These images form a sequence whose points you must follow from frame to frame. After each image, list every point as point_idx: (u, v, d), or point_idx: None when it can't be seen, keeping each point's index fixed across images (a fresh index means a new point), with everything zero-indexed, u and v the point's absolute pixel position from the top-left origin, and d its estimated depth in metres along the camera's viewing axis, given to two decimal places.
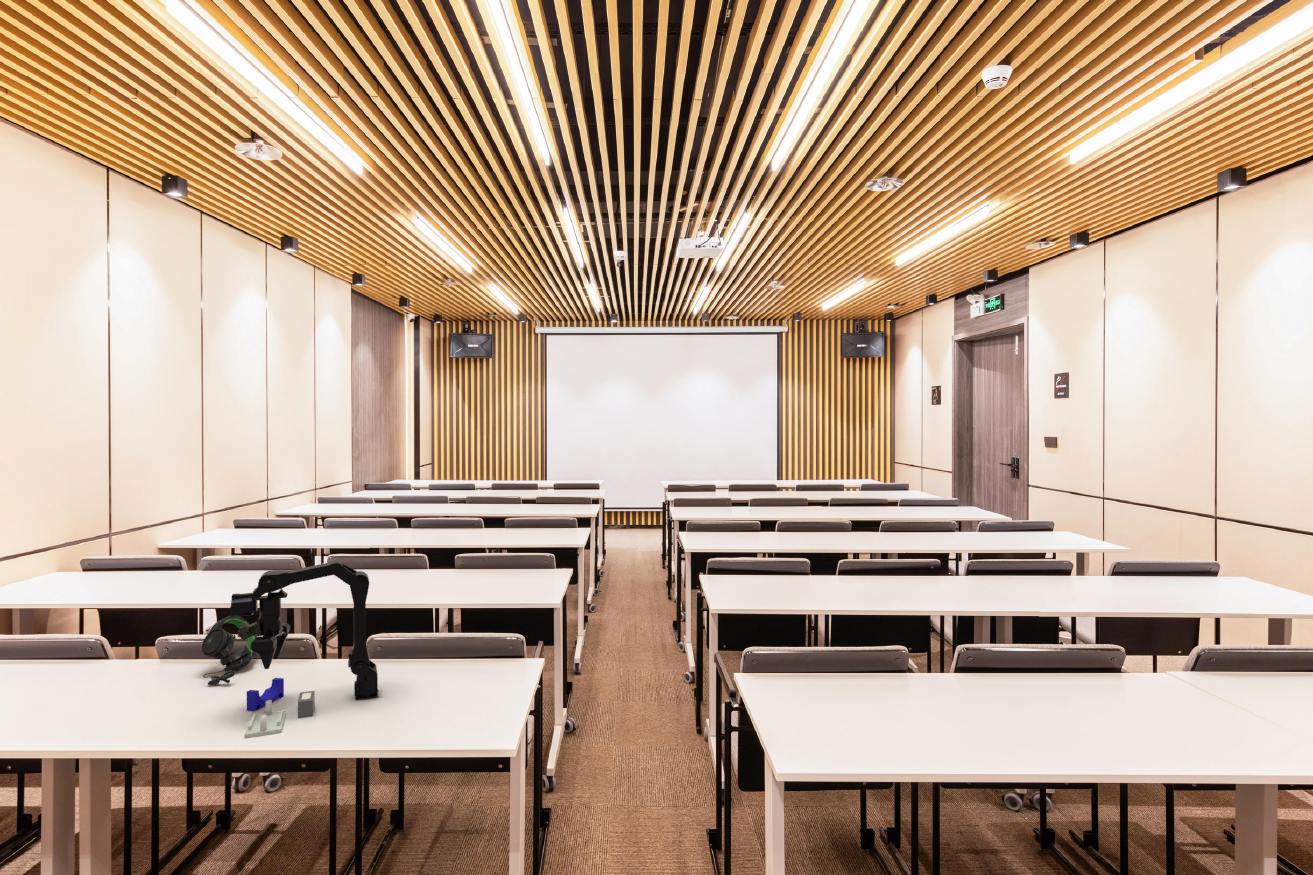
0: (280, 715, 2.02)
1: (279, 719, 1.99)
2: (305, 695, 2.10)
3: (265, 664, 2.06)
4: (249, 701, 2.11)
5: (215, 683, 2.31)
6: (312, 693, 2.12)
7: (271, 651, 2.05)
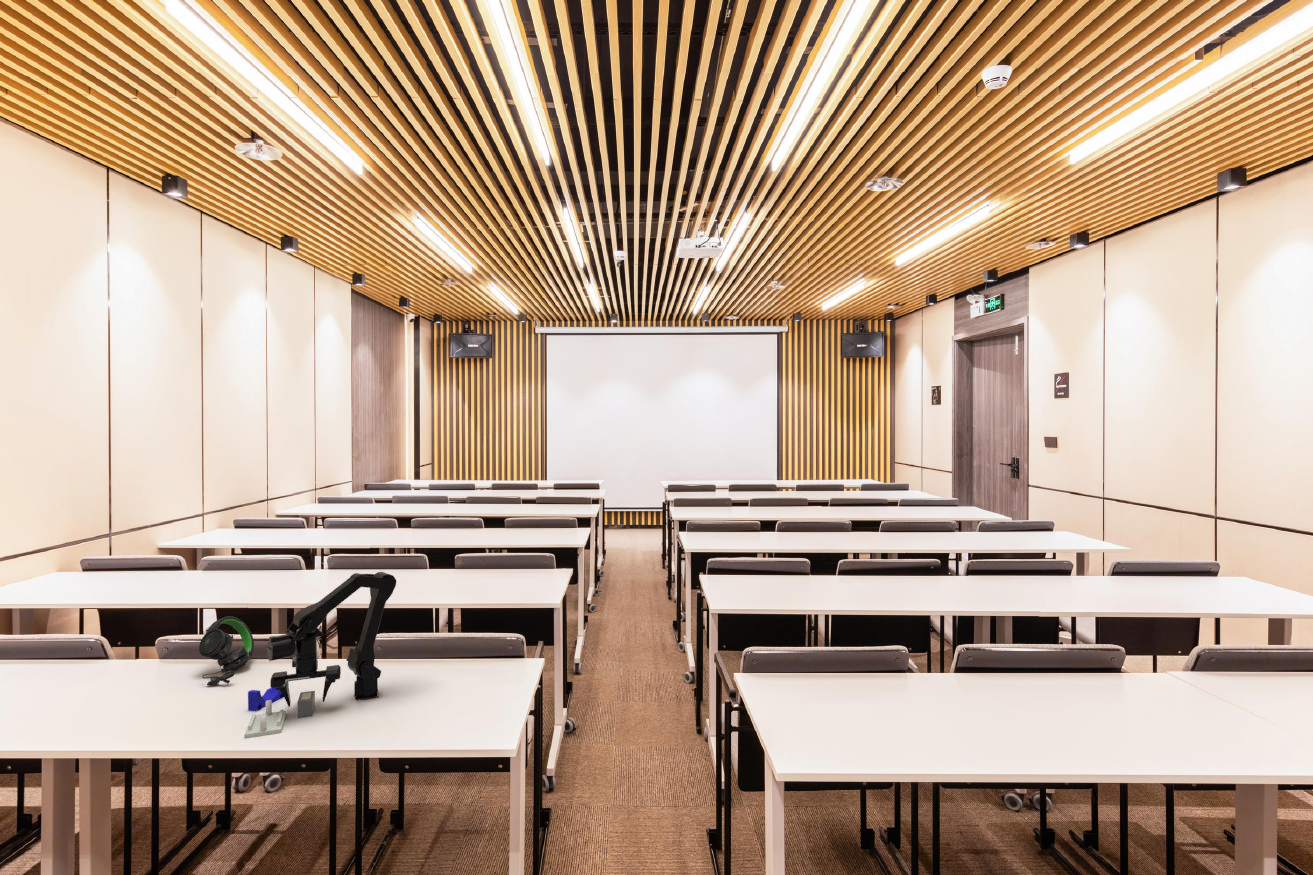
0: (280, 715, 2.02)
1: (279, 719, 1.99)
2: (305, 695, 2.10)
3: None
4: (250, 701, 2.11)
5: (214, 683, 2.31)
6: (312, 693, 2.12)
7: None
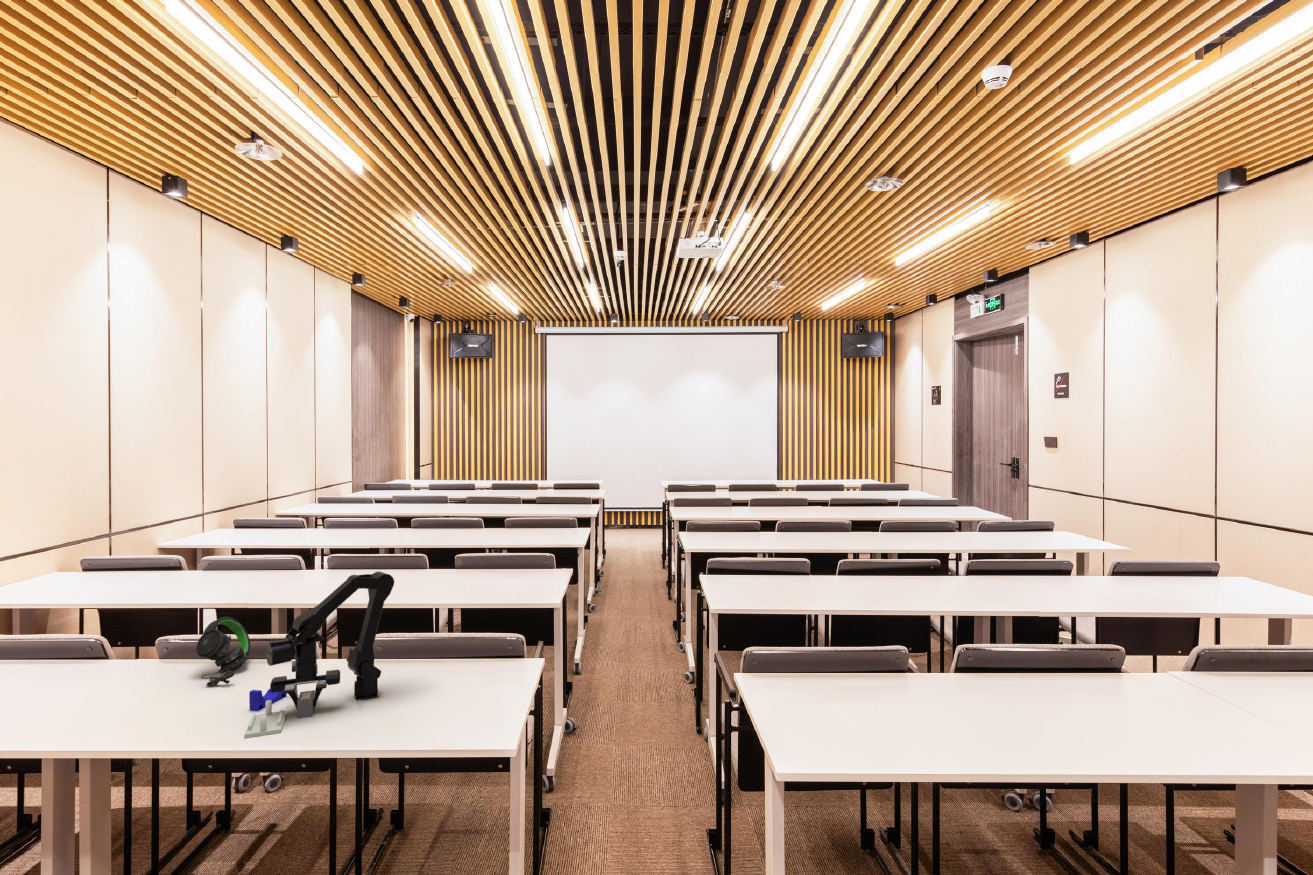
0: (280, 715, 2.02)
1: (279, 719, 1.99)
2: (305, 695, 2.10)
3: None
4: (252, 701, 2.11)
5: (214, 684, 2.30)
6: (312, 693, 2.12)
7: None
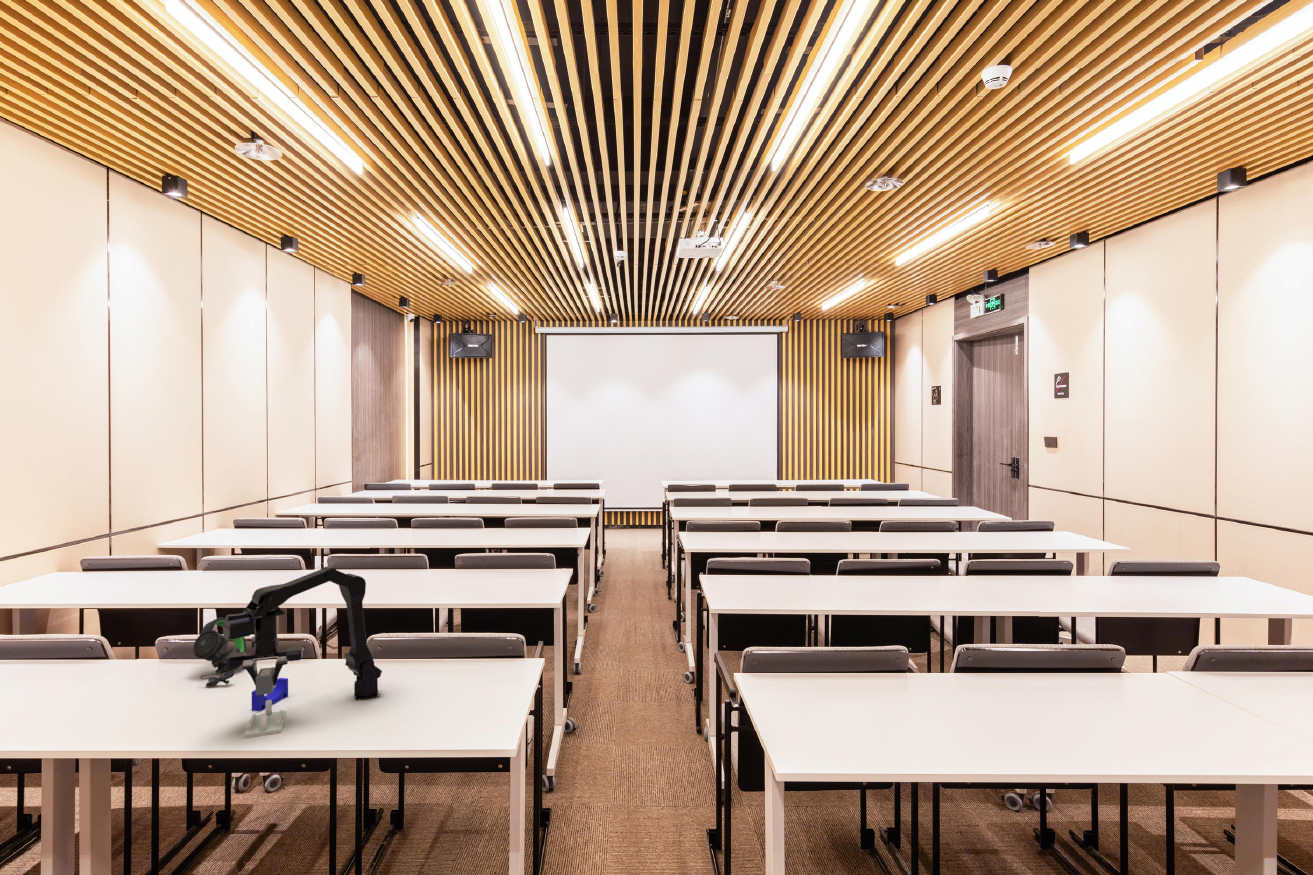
0: (280, 715, 2.02)
1: (279, 719, 1.99)
2: (265, 671, 2.00)
3: None
4: (254, 701, 2.11)
5: (213, 684, 2.30)
6: (273, 669, 2.02)
7: None
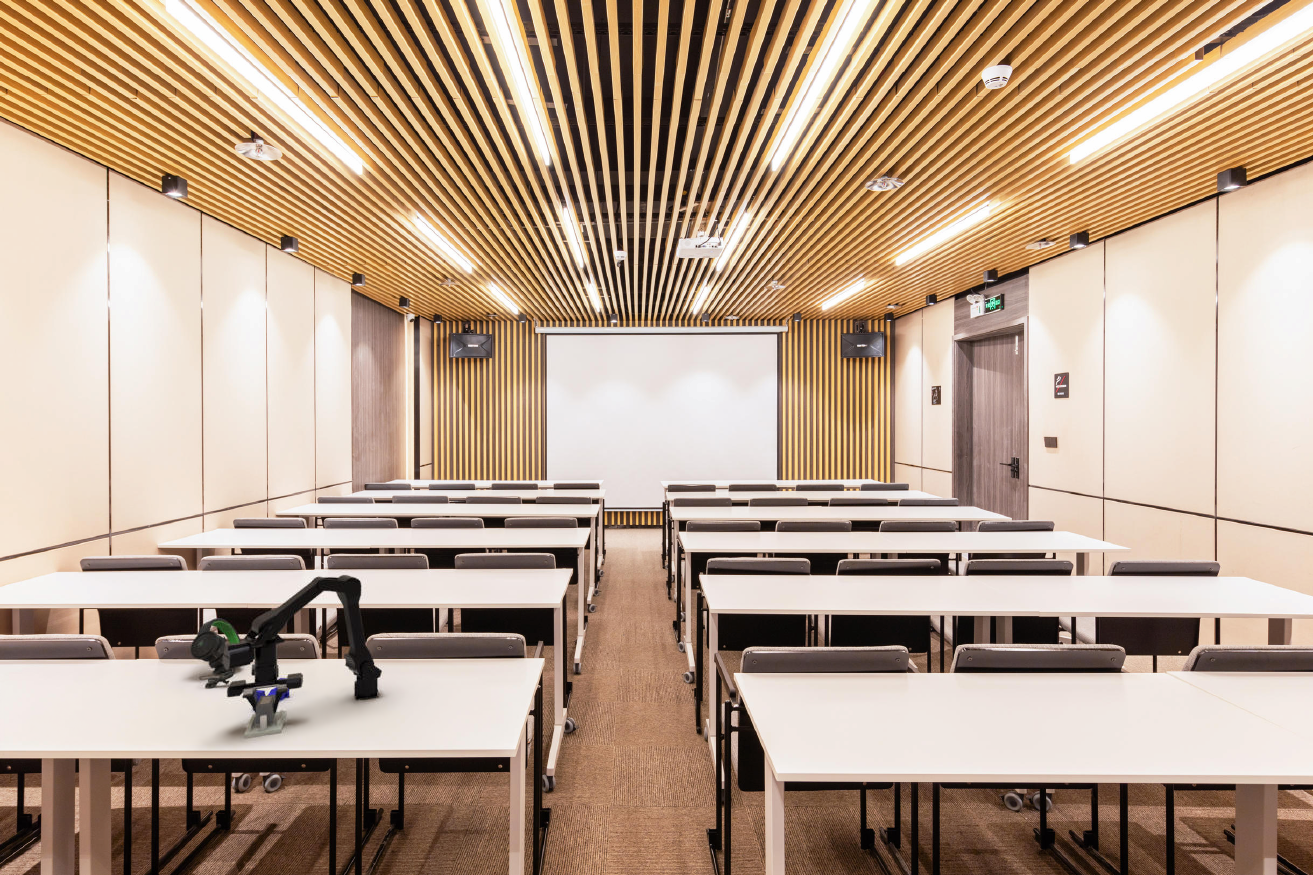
0: (280, 715, 2.02)
1: (279, 719, 1.99)
2: (265, 699, 2.00)
3: None
4: None
5: (213, 685, 2.30)
6: (273, 697, 2.02)
7: None
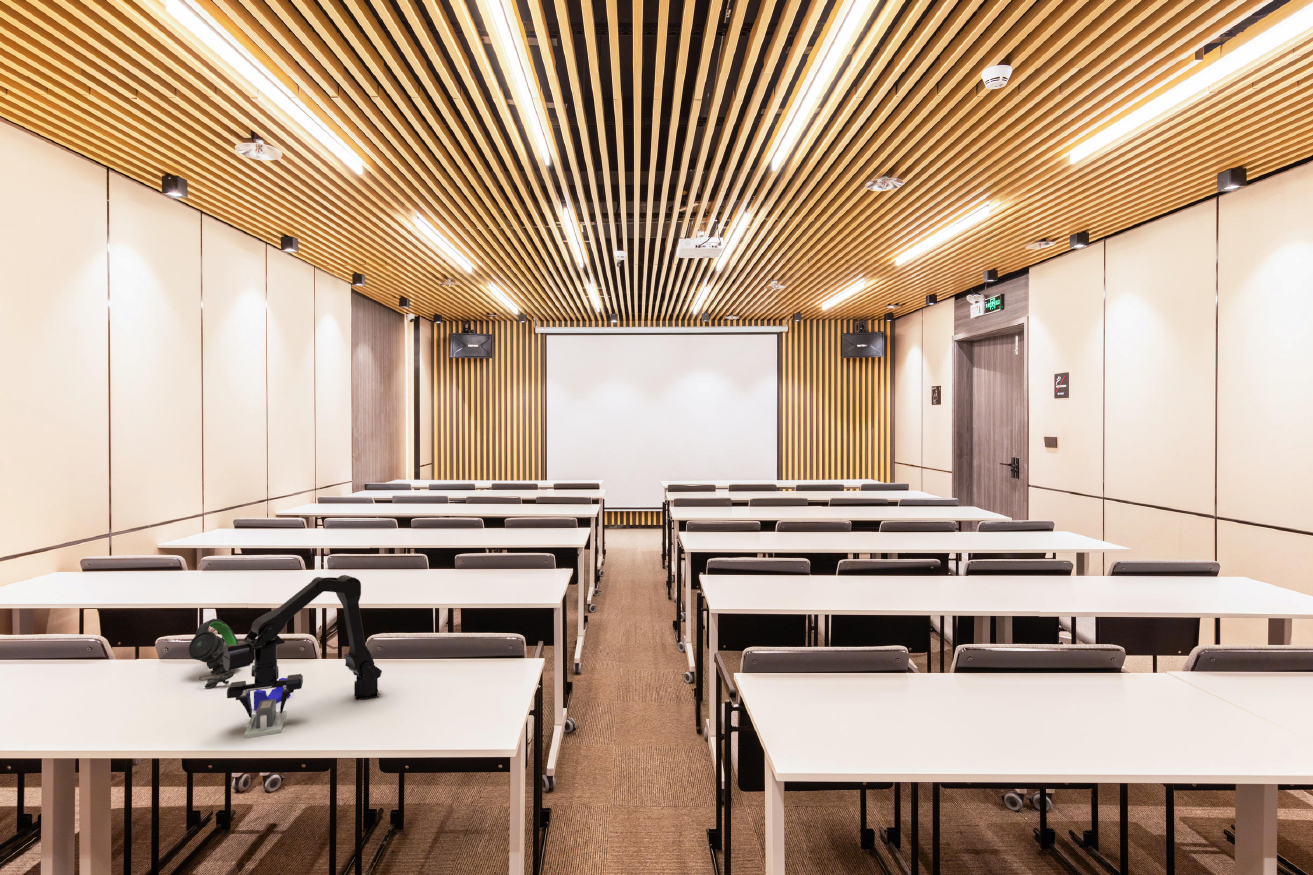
0: (280, 715, 2.02)
1: (279, 719, 1.99)
2: (265, 704, 2.00)
3: None
4: (256, 701, 2.11)
5: (213, 685, 2.29)
6: (273, 701, 2.02)
7: None
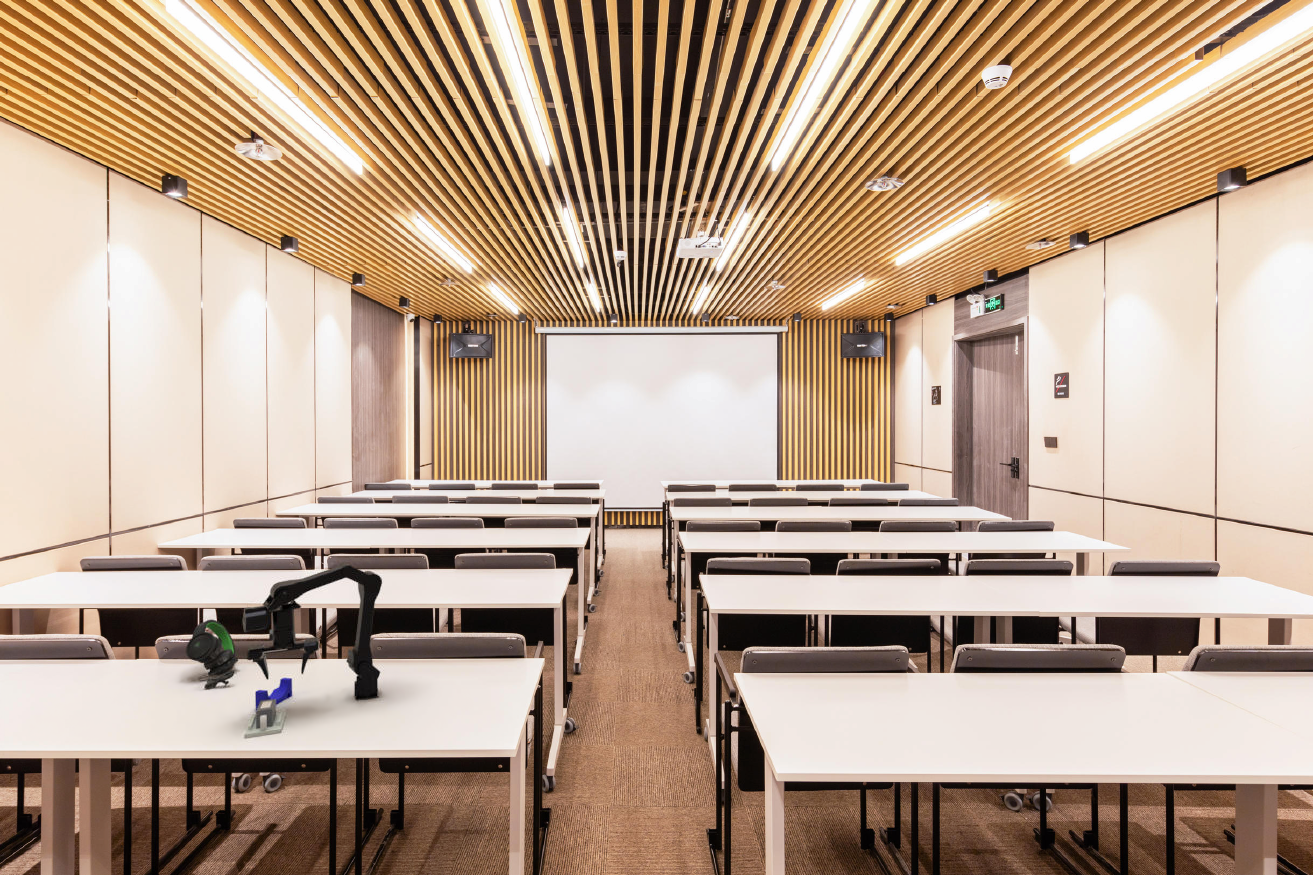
0: (280, 715, 2.02)
1: (279, 719, 1.99)
2: (265, 704, 2.00)
3: None
4: (258, 701, 2.11)
5: (213, 686, 2.29)
6: (273, 701, 2.02)
7: None
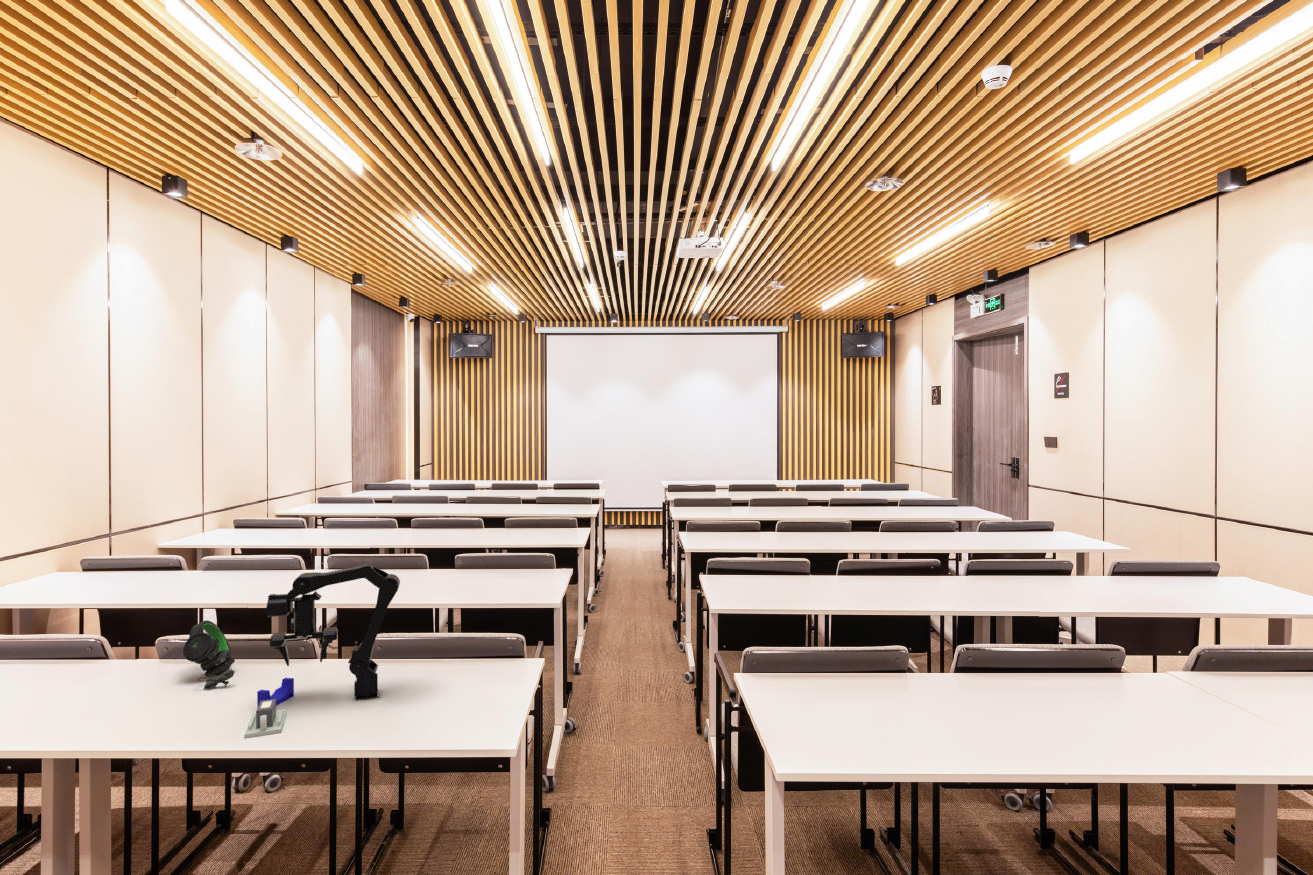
0: (280, 715, 2.02)
1: (279, 719, 1.99)
2: (265, 704, 2.00)
3: None
4: None
5: (212, 686, 2.28)
6: (273, 701, 2.02)
7: None
